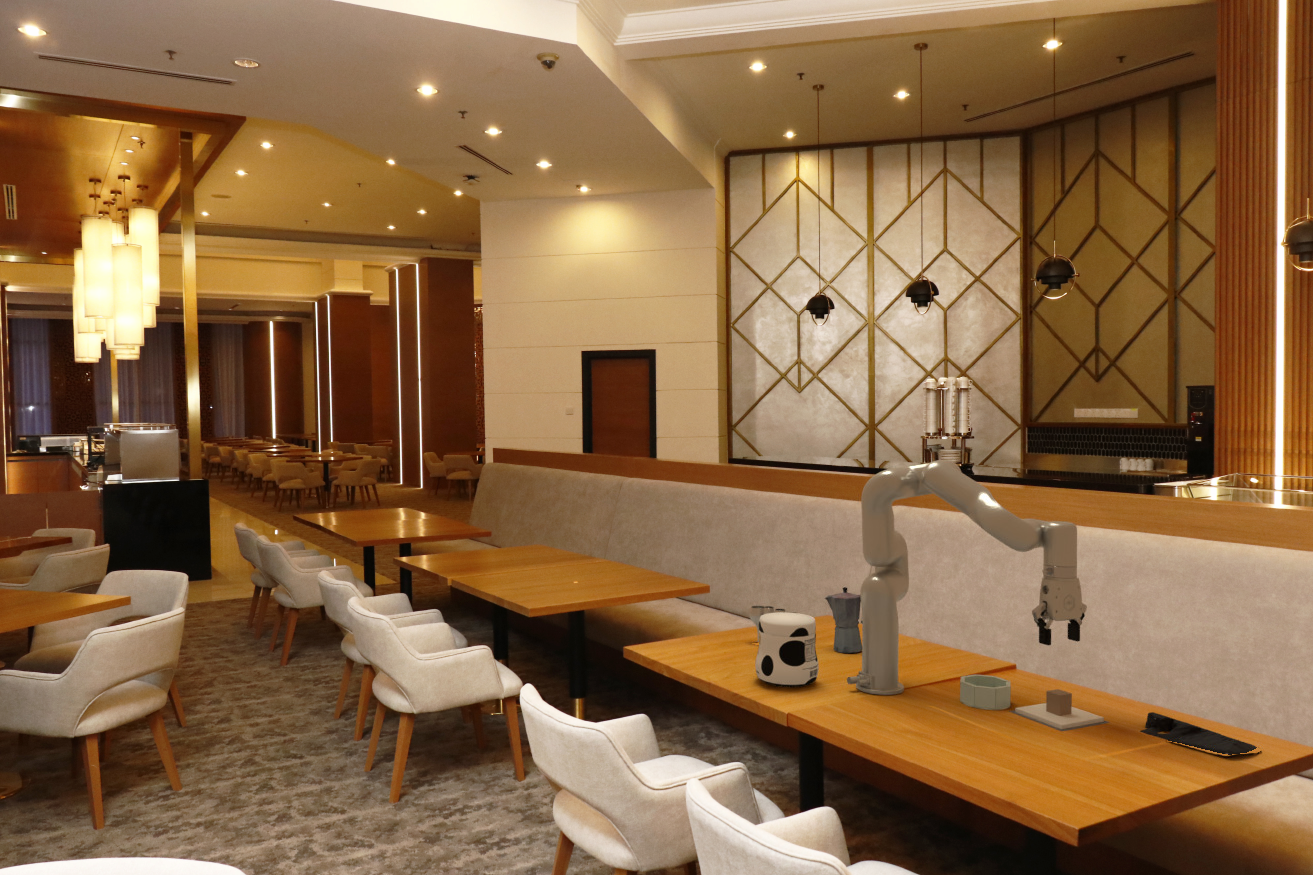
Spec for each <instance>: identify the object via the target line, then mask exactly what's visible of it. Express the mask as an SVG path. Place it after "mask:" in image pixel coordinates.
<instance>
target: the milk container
mask: <svg viewBox="0 0 1313 875" xmlns="http://www.w3.org/2000/svg"><path fill="white" fill-rule="evenodd" d="M787 612H788V611H786V612H778V613H768V614H764V615H761V617H760V620H759V646H758V648H757V649H758V650H757V654H756V658H755V672H756V673H755V674H756V676H757V678H758V679H759V680H760V681H761V682H762V683H764V684H767V685H771V686H774V687H780V688H800V687H806V686H809V685H811V684H814V683H815V682H816V680H817V678H818V676H819V670H820V668H819V667H820V666H819V659H818V655H817V651H816V650H817V649H816V641H817V640H816V639H817V634H816V631H817V630H816V629H817V628H816V627H817V624H816V619H815V617H813V616H811V615H808V614H804V613H799V612H796V613H787Z"/></svg>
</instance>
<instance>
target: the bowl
mask: <svg viewBox="0 0 1313 875" xmlns="http://www.w3.org/2000/svg"><path fill="white" fill-rule="evenodd" d="M959 682H960V683H959V684H960V685H959V686H960V692H959V693H960V694H959V701H960V703H962V704H963V705H965V706H967V707H971V708H974V709H975V708H976V709H980V710H986V711H987V710H988V711H998V710H999V711H1000V710H1005V709H1008V708H1010V707H1011V695H1012V694H1011V693H1012V692H1011V689H1012V686H1011V680H1007V679H1004V678H1002V677H999V676H995V675H986V674H985V675H984V674H968V675H962V676H960V681H959Z"/></svg>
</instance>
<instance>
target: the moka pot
mask: <svg viewBox="0 0 1313 875" xmlns="http://www.w3.org/2000/svg"><path fill="white" fill-rule="evenodd" d="M842 591H843V592H840V593H835V594H829V595H827V596H825V597H824V599H825V600H826V601H827V603H828V605H829V608H830V609H831V611H832V618H833V621H834V625H835V627H834V638H833V640H834V641H833V650H834V652H836V651H837V653H843V654H855V653H860V652H862V638H861V637H862V636H861V632H860V627H859V624H860V623H861V624H862V620H861V621H859V620H860V617H861V616H860V615H861V598H860V594H856V593H851V592H848V587H847V586H845V587H842Z"/></svg>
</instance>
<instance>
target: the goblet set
mask: <svg viewBox="0 0 1313 875" xmlns="http://www.w3.org/2000/svg"><path fill="white" fill-rule="evenodd" d="M778 612H787V613H797V612H796V611H795V612H794V611H786V609H785V608H775V607H774V606H770V605H766V606H765V605H752V606H751V607H750V610H749V615H748V616H749V619H750V620H751V622H752V623H753V624H754V625H755V627H756V630H757V641H756V642H759V620H760V617H761V615H764V614H768V613H778Z"/></svg>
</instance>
